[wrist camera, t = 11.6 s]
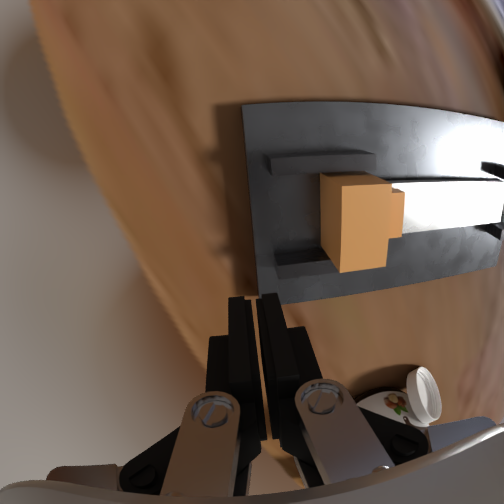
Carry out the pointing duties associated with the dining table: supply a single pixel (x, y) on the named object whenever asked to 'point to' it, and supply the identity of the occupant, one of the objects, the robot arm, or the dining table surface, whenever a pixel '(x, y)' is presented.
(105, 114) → the dining table surface
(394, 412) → the spread jar
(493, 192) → the strap
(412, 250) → the plate
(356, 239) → the block
